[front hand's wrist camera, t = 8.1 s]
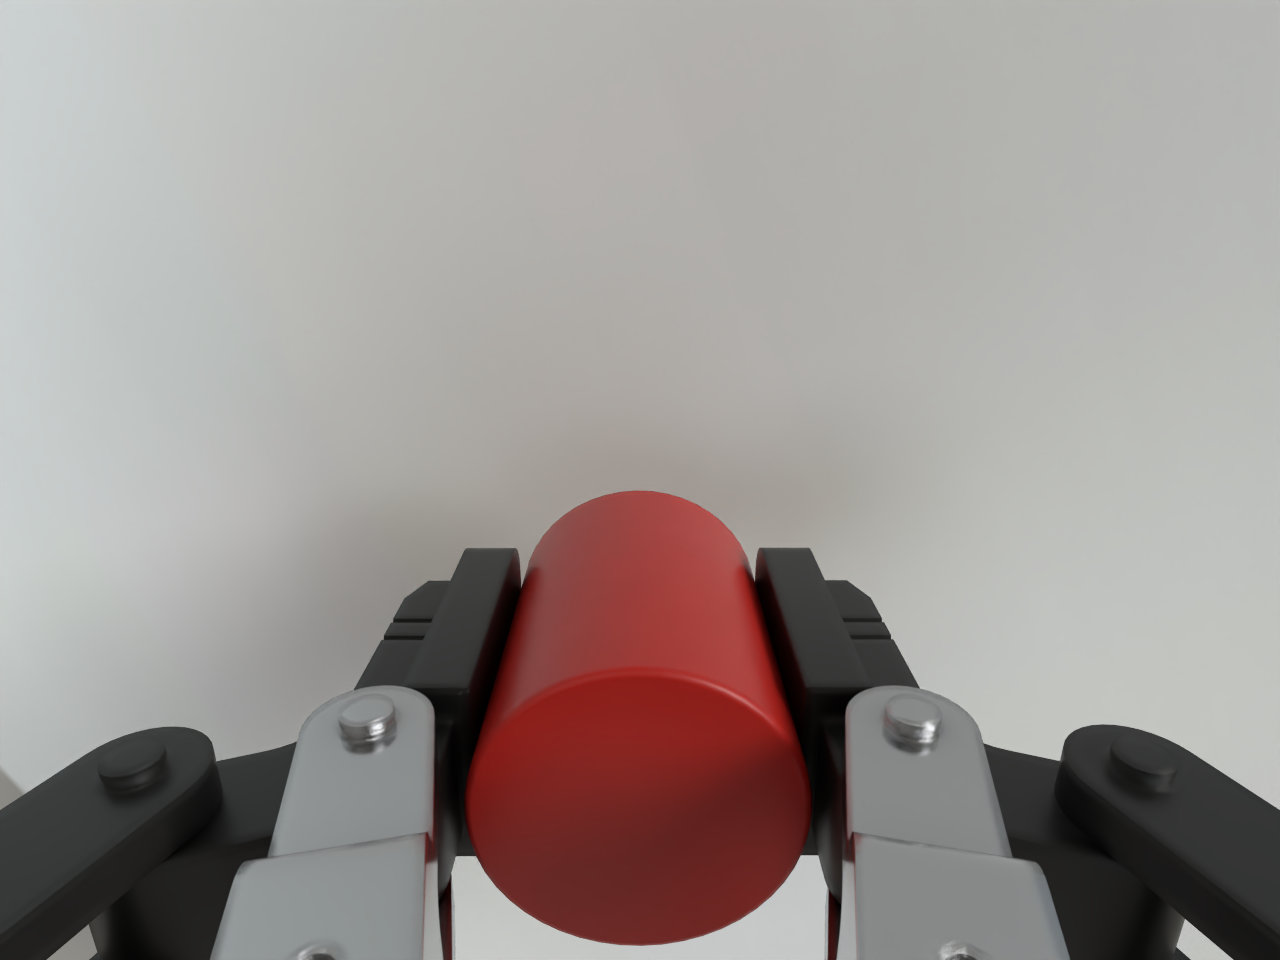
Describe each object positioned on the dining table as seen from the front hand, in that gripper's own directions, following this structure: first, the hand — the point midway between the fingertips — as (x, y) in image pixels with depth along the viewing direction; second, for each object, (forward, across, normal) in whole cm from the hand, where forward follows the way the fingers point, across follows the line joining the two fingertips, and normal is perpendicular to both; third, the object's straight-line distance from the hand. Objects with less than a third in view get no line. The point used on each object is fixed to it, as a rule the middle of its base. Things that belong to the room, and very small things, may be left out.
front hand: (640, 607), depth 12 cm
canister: (0, 0, 0) cm, 0 cm away
